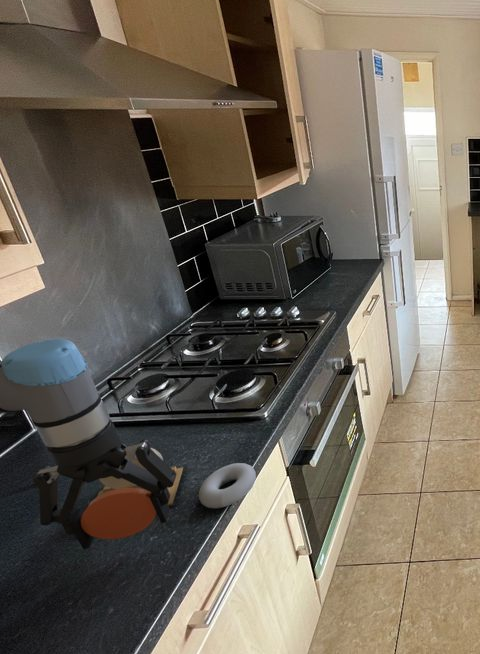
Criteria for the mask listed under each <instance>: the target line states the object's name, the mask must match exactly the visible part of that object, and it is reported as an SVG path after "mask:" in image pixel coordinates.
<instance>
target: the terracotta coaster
mask: <svg viewBox="0 0 480 654" xmlns="http://www.w3.org/2000/svg"><path fill="white" fill-rule="evenodd" d="M150 495H151V492H149V491H146V490H144V489H140V488H120V489H115V490H111V491H109V492H106V493H104V494H102V495H100V496H98V497H97V496H96V497H97V498H96V497H95V498H93V499H92V500H91V501H90V502H89V503H88V504H87V506H86V507H85V509H84V510H83V512H84V513H83V515H82V517H81V526H82V528H83V530H84V531H85V532H86V533H87V534H89V535H91V536H93V537H94V538H96V539H101V540H116V539H117V540H118V539H123V538H128V537H131V536H134V535H136V534H139V533H140V532H142V531H144V529H146V528H148V527H149V526H150V525H151V524H152V523H153V521H154V520H155V518H156V516H157V513H156V511H155V509H154V506H153V504H152V502H151V500H150Z"/></svg>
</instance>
